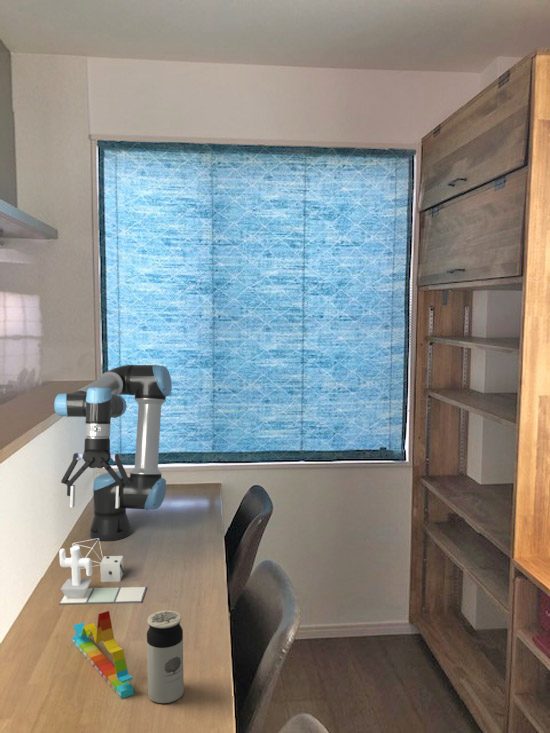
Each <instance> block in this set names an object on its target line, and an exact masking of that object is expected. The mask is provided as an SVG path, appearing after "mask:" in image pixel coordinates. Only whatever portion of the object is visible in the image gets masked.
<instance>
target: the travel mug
mask: <svg viewBox="0 0 550 733" xmlns="http://www.w3.org/2000/svg"><path fill="white" fill-rule="evenodd" d="M181 621H182V615H181V614H180V613H179V612H178V611H174V610H169V609H168V610H159V611H156V612H154V613H152V614H150V615H149V616H148V618H147V624H148V626H149V628H148V629H147V631H146V656H147V657H146V660H147V661H146V663H147V664H146V665H147V697H148V698H149V699H150V700H151V701H153V702H154V703H159V704H168V703H169V704H170V703H172V702H175V701H177V700H179V699H180V698H182V696H183V695H184V690H185V689H184V686H185V685H184V680H185V678H184V630H183V628H182V626H181Z"/></svg>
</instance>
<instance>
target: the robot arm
mask: <svg viewBox="0 0 550 733" xmlns="http://www.w3.org/2000/svg"><path fill="white" fill-rule="evenodd" d="M172 388H173V386H172V377H171V374H170V371H169V369H168V368H167V367H166V366H164V365H159V364H125V365H120V366H118V367H115V368H112V369H109V370H107V371H105V372H104V373H102V374H101V375H100V377H99V378H98V379H96V380H94V381H92V382H90V383H89V384H87V385H85V386H83V387H82V388H80V389H77V390H76V391H74V392H72V393H68V392H66V393H65V392H64V393H58V394H57V395H56V397H55V398H54V404H53V406H54V412H55V413H56V415H57V416H59V417H67V418H69V417H71V418H72V417H73V418H75V417H76V418H77V417H78V418H85V422H84V424H85V425H84V426H85V429H84V436H85V439H84V446H83V448H84V451H83V453H79V452H75V453H73V455H72V461H71V462H70V465H69V466H68V468H67V470H66V472H65V473H64V475H63V477H62V479H61V481H60V483H62V484H64V485H66V488H67V489H66V496H67V497H70V498H69V499H70V500H69V501H70V502H69V508H70V509H71V508H74V507H75V506H76V505H75V503H76V484H74V483H75V482H76V481H77V480H78V479H79V477H80V476H82V474H83V473H85V471H86V470H87V469H88V468H90V469H95V468H96V469H103V468H104V470H106V473H103V474H100V475H98V476H96V477H95V478H94V479H93V487H92V491H93V511H94V512H93V519H92V522H91V525H90V529H89V537H90V539H94V540H95V541H97V540H98V542H99V541H100V542H101V541H102V542H110V541H111V542H113V541H118V540H121V539H125V538H127V537H129V536H130V535H131V534H132V525H131V523H130V520H129V517H128V515H127V510H126V509H129V510H130V509H131V510H145V511H149V510H151V511H152V510H157V509H159V508H161V506H162V505H163V503H164V499H165V496H166V491H167V480H166V479H165V478H164V477H162V474H163V473H162V472H161V471H160V469H159V455H160V454H159V452H160V450H159V449H160V439H161V438H160V437H161V436H160V435H161V419H162V418H161V417H162V415H161V414H162V406H163V404H164V403H165V402H166V400H167V399H166V398H167V397H169V396H170V395H171V393H172ZM124 395H125V396H134V401H135V402H136V403H137V405H138V406H137V407H138V408H137V422H136V424H137V426H136V437H135V438H136V440H135V456H134V468H133V469H132V470H131V471H130V473H129V476H128V474H127V471H126V470H125V467H124V465H123V463H122V461H121V454H120V453H118V452H117V453H115V454H111V453H110V452H111V450H110V448H111V446H110V445H111V439H110V438H109V437H110V436H111V420H112V419H113V418H114V419H116V418H119V417H121V416H123V415H124V414H125V413H126V411H127V407H128V406H127V401H126V399H125V398H124V397H123V396H124ZM81 459H82V460H83V461H84V463H83V465H82V466H81V467H80V468H79V469H78V470H77V471H76V472H75V474H74V475H73V476H72V473H73V471H74V469H75V467H76V466H77V464H78V461H80V460H81ZM111 459H112V461H113V462H115V465H116V467H117V469H118V471H115V470H114V469H113V467H112V466H111V464H110V463H109V461H110V460H111ZM70 476H72V477H71V478H70ZM69 478H70V479H69ZM97 538H99V539H97Z"/></svg>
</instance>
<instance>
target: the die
mask: <svg viewBox="0 0 550 733" xmlns="http://www.w3.org/2000/svg"><path fill="white" fill-rule="evenodd" d="M101 560H102V561H101V562H99V567H100V570H99V571H100V582H101V583H108V582H109V583H111V582H113V583H114V582H116V583H117V582H121V580H122V578H123V575H124V573H125V572H124V571H125V570H124V556H123V555H109V556H108V555H107V556H105V555H104V556H103V559H101Z"/></svg>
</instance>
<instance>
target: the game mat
mask: <svg viewBox="0 0 550 733" xmlns="http://www.w3.org/2000/svg"><path fill="white" fill-rule="evenodd" d="M146 592H147V586H123V587H120V586H119V587H118V586H116V587H114V586H113V587H88V589H87V591H86V593H85V595H84V596H83V598H82V599H67V597H66V596H65V595H64V594H63V595H62V597H61V600H60V601H59V603H58V605H59V606H60V605H63V606H65V605H95V604H96V605H101V604H104V605H105V604H106V605H107V604H138V603H139V604H142V603H143V600H144V597H145V594H146Z"/></svg>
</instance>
